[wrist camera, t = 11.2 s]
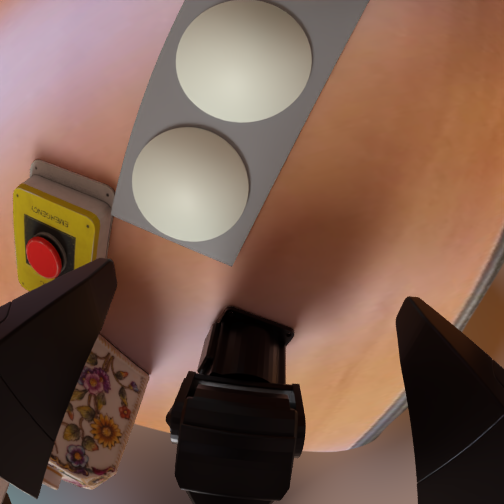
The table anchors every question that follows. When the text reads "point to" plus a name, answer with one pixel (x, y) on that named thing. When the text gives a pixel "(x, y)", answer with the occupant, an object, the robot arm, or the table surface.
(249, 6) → the panel
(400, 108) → the table surface
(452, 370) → the robot arm
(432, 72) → the table surface
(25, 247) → the emergency button
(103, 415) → the decorative jar
